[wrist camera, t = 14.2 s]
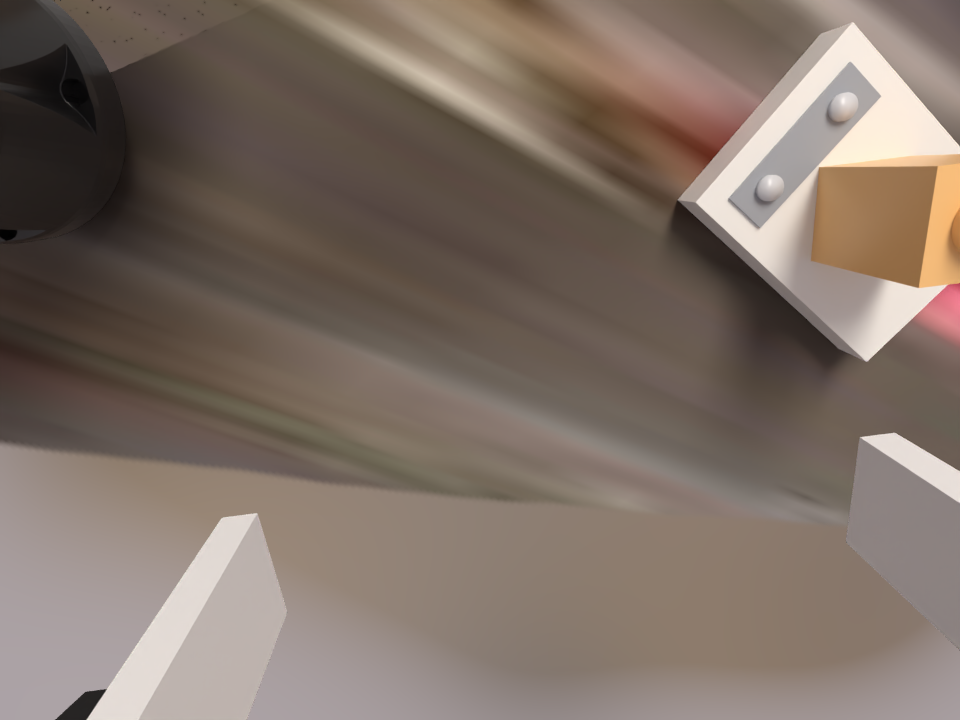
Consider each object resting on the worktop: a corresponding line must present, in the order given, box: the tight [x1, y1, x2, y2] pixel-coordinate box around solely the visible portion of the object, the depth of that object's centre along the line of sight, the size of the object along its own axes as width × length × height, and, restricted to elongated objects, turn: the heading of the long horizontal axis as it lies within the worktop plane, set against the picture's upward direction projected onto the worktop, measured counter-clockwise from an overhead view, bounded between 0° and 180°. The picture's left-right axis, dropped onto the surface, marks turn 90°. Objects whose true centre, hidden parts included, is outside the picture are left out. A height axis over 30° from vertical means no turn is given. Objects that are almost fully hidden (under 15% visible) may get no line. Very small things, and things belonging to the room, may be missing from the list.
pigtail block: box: [678, 22, 960, 362], centre depth 35 cm, size 18×13×7 cm
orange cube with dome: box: [811, 154, 960, 288], centre depth 30 cm, size 6×6×11 cm
